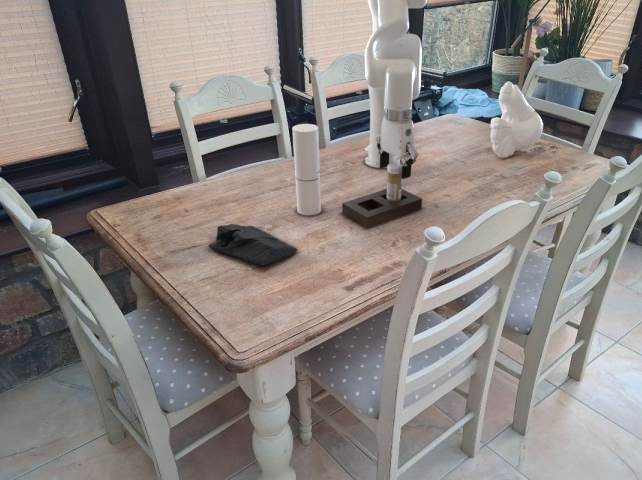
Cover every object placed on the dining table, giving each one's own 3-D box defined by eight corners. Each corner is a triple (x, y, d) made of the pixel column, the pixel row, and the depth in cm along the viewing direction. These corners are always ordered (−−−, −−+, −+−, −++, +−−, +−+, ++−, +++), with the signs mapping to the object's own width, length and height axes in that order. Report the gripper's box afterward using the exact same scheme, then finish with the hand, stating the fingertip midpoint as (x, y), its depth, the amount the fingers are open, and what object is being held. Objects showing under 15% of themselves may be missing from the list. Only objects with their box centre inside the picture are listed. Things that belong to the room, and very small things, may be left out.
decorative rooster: (521, 121, 214) (495, 73, 198) (555, 123, 201) (530, 73, 186) (486, 170, 211) (457, 125, 196) (518, 175, 199) (489, 128, 183)
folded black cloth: (258, 276, 132) (257, 259, 129) (204, 247, 144) (201, 231, 141) (303, 252, 142) (302, 236, 139) (248, 226, 154) (246, 211, 151)
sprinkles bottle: (403, 208, 164) (406, 166, 156) (391, 211, 161) (393, 169, 154) (394, 202, 167) (396, 161, 159) (382, 206, 165) (384, 164, 157)
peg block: (342, 213, 161) (342, 203, 159) (395, 196, 171) (395, 185, 169) (367, 228, 153) (367, 217, 151) (421, 209, 163) (422, 198, 161)
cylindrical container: (324, 207, 164) (322, 125, 150) (315, 216, 159) (312, 133, 145) (303, 203, 166) (298, 122, 152) (293, 213, 161) (288, 130, 147)
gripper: (429, 119, 145) (424, 178, 155) (387, 104, 156) (385, 160, 166) (408, 124, 141) (404, 185, 151) (367, 108, 152) (366, 166, 162)
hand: (394, 172), depth 158 cm, fingers open, 9 cm apart
